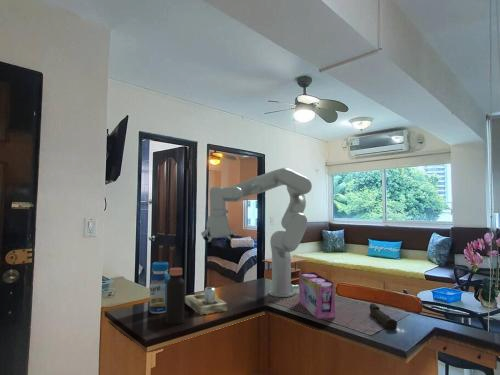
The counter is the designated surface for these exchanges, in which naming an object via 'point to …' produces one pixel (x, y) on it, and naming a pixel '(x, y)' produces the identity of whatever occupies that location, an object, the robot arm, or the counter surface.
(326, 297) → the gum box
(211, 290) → the steel sleeve
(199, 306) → the jig plate
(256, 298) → the counter surface
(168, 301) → the vinegar
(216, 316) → the counter surface
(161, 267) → the beverage bottle
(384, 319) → the hand tool
